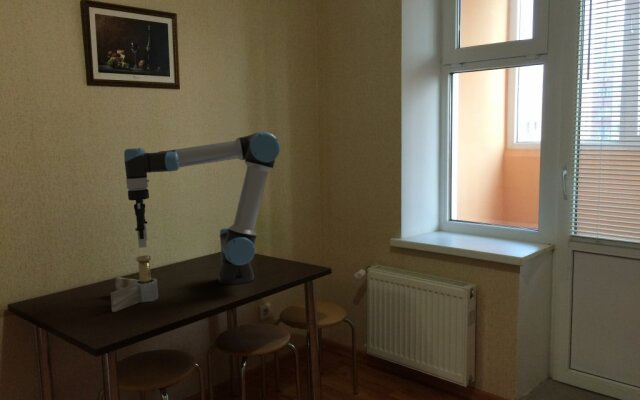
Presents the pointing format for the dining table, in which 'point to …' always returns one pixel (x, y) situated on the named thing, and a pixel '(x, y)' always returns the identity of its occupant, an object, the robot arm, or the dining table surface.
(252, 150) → the robot arm
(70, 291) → the dining table surface
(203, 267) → the dining table surface
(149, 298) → the knuckle barrel
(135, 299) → the hinge leaves
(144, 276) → the hinge pin
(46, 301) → the dining table surface
